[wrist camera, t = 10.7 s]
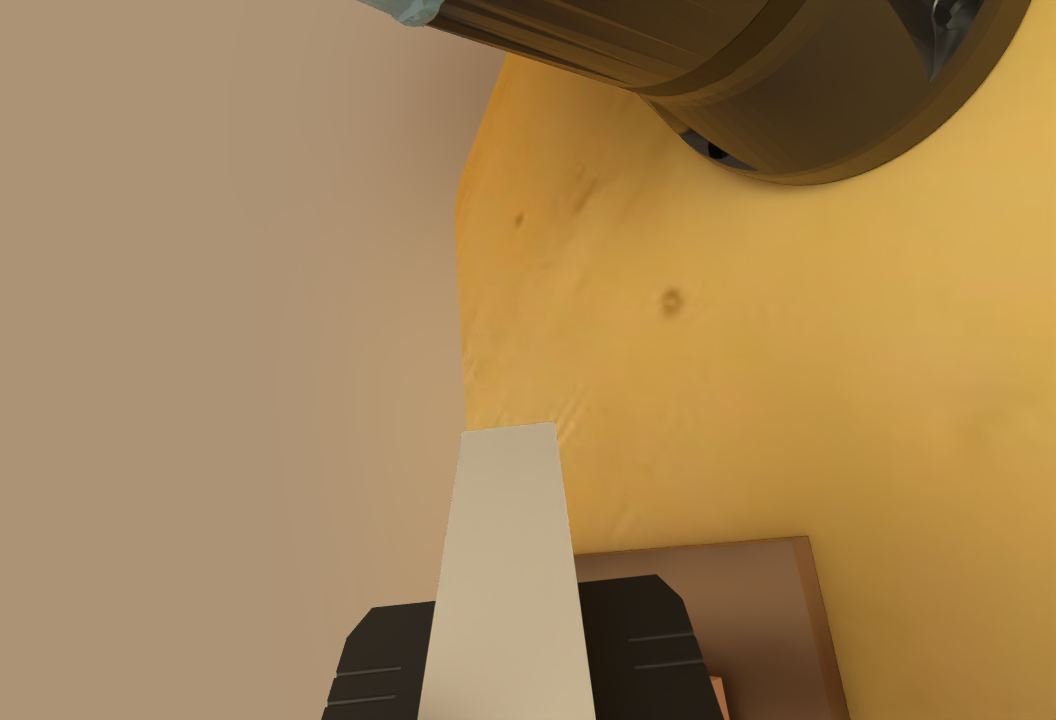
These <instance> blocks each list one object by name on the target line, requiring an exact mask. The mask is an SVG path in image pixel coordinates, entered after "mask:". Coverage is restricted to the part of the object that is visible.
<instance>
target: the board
mask: <svg viewBox="0 0 1056 720" xmlns="http://www.w3.org/2000/svg"><path fill="white" fill-rule="evenodd" d="M573 556H574V563H575V571H576V578H577V583H579V582H588V581H597V580H607V579H616V578H625V577H634V576H643V575H653V574H657V575H658V576H659V577H660V578H661V579H662V580H663V581H664V582H665V583H666V584H668V585H669V586H670V587H671V588H672V589H673V590H674V591H675V592H676V593H677V594H678V595H679V596H680V597H681V598H682V599H683V601H684V604H685V607H686V610H687V613H688V616H689V619H690V622H691V625H692V627H693V631H694V636H696V639H697V642H698V645H699V648H700V650H701V653H702V656H703V662H704V664H705V665H706V668H707V671H708V674H709V676H713V677H720V678H721V680H722V685H723V690H724V695H725V700H726V705H727V710H728V715H729V720H850V718H849V713H848V709H847V705H846V700H845V696H844V692H843V687H842V683H841V678H840V674H839V670H838V665H837V661H836V657H835V652H834V648H833V643H832V639H831V635H830V630H829V626H828V622H827V617H826V613H825V609H824V604H823V600H822V595H821V591H820V587H819V582H818V578H817V574H816V569H815V565H814V560H813V556H812V552H811V547H810V543H809V539H808V536H801V537H789V538H777V539H765V540H752V541H740V542H728V543H716V544H703V545H691V546H679V547H667V548H654V549H642V550H630V551H618V552H605V553H593V554H581V555H573Z"/></svg>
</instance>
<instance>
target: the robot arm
mask: <svg viewBox="0 0 1056 720" xmlns="http://www.w3.org/2000/svg"><path fill="white" fill-rule="evenodd" d="M358 1H360V2H362V3H365V4H367V5H369V6H372V7H374V8H376V9H378V10H381V11H383V12H385V13H388V14H390V15H392V17H393V18H394V19H395V20H396V21H399V22H400V23H402V24H404V25H406V26H412V27H416V26H422V27H424V26H425V25H426V26H429V27H432V28H435V29H438V30H441V31H445V32H448V33H451V34H454V35H457V36H461V37H463V38H467V39H470V40H473V41H476V42H479V43H482V44H485V45H488V46H491V47H495V48H498V49H501V50H504V51H507V52H510V53H513V54H516V55H520V56H523V57H526V58H529V59H532V60H535V61H538V62H541V63H545V64H548V65H551V66H554V67H557V68H560V69H563V70H566V71H570V72H573V73H576V74H579V75H582V76H585V77H588V78H591V79H595V80H598V81H601V82H604V83H607V84H610V85H614V86H617V87H620V88H623V89H626V90H629V91H632V92H635V93H637V94H638V95H639V96H640V97H641V98H642V99H643V100H644V101H645V102H646V103H647V104H648V105H649V106H650V107H651V108H652V109H653V110H654V111H655V112H656V113H657V114H658V115H659V116H660V117H661V118H662V119H663V120H664V121H665V122H666V123H667V124H668V125H669V126H670V127H671V128H672V129H673V130H674V131H675V132H676V133H677V134H679V135H680V137H681V138H682V139H683V140H684V141H685V142H686V143H687V144H688V145H689V146H691V147H692V148H693V149H694V150H695V151H696V152H697V153H699V154H700V155H702V156H703V157H704V158H706V159H708V160H709V161H711V162H713V163H714V164H716V165H718V166H720V167H722V168H725V169H727V170H729V171H732V172H735V173H738V174H742V175H745V176H749V177H753V178H757V179H760V180H764V181H768V182H772V183H779V184H787V185H812V184H821V183H827V182H832V181H837V180H841V179H844V178H848V177H851V176H854V175H857V174H860V173H863V172H865V171H868V170H870V169H872V168H875V167H877V166H879V165H881V164H883V163H885V162H887V161H889V160H891V159H893V158H894V157H896V156H898V155H900V154H901V153H903V152H905V151H906V150H908V149H909V148H911V147H912V146H914V145H915V144H917V143H918V142H920V141H921V140H922V139H924V138H925V137H926V136H928V135H929V134H930V133H932V132H933V131H934V130H935V129H936V128H938V127H939V126H940V125H941V124H942V123H943V122H945V121H946V120H947V119H948V118H949V117H950V116H951V115H952V114H953V113H954V112H955V111H956V110H957V109H958V108H960V107H961V106H962V104H963V103H964V102H965V101H966V100H967V99H968V98H969V97H970V96H971V95H972V94H973V93H974V91H975V90H976V89H977V88H978V87H979V85H980V84H981V83H982V82H983V80H984V79H985V78H986V77H987V75H988V74H989V73H990V71H991V70H992V69H993V67H994V66H995V64H996V63H997V62H998V60H999V59H1000V57H1001V56H1002V54H1003V52H1004V51H1005V49H1006V48H1007V46H1008V45H1009V43H1010V41H1011V39H1012V38H1013V36H1014V34H1015V32H1016V31H1017V29H1018V27H1019V25H1020V23H1021V21H1022V19H1023V17H1024V15H1025V12H1026V10H1027V8H1028V6H1029V3H1030V1H1031V0H358ZM336 672H337V677H336V678H334V680H333V684H332V687H331V690H330V694H329V697H328V700H327V701H328V706H327V707H325V709H324V712H323V716H322V719H321V720H724V717H723V714H722V711H721V708H720V705H719V702H718V700H717V697H716V694H715V691H714V688H713V685H712V682H711V679H710V676H709V674H708V671H707V668H706V665H705V664H704V662H703V656H702V653H701V650H700V648H699V645H698V642H697V639H696V636H694V631H693V627H692V625H691V622H690V619H689V616H688V613H687V610H686V607H685V604H684V601H683V599H682V598H681V597H680V596H679V595H678V594H677V593H676V592H675V591H674V590H673V589H672V588H671V587H670V586H669V585H668V584H666V583H665V582H664V581H663V580H662V579H661V578H660V577H659V576H658V575H657V574H653V575H643V576H634V577H625V578H616V579H607V580H597V581H588V582H579V583H577V578H576V571H575V563H574V556H573V549H572V541H571V534H570V527H569V519H568V512H567V505H566V498H565V490H564V483H563V476H562V468H561V461H560V454H559V446H558V439H557V432H556V424H555V421H552V422H543V423H534V424H525V425H516V426H508V427H499V428H490V429H481V430H472V431H463V432H462V436H461V442H460V448H459V455H458V462H457V468H456V474H455V481H454V488H453V494H452V500H451V507H450V513H449V520H448V526H447V533H446V539H445V545H444V551H443V558H442V564H441V571H440V577H439V584H438V591H437V597H436V601H430V602H422V603H412V604H403V605H393V606H384V607H375V608H372V609H371V610H370V611H369V612H368V613H367V615H366V616H365V617H364V618H363V619H362V620H361V622H360V623H359V624H358V625H357V626H356V628H355V629H354V630H353V631H352V632H351V633H350V635H349V636H348V637H347V639H346V642H345V645H344V649H343V652H342V655H341V658H340V662H339V665H338V668H337V671H336Z"/></svg>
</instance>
